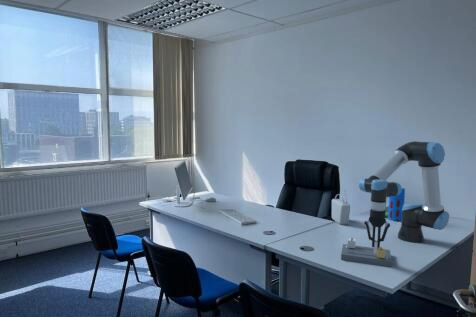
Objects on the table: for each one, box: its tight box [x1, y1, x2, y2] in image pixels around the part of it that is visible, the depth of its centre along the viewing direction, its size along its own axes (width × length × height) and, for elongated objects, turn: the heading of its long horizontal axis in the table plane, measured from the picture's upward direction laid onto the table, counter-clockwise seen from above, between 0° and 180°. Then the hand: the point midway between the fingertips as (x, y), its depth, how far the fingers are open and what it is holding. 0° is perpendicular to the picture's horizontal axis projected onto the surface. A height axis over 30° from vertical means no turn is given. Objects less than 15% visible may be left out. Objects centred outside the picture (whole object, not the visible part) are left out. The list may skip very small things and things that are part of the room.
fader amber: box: [377, 246, 387, 258], centre depth 184 cm, size 4×5×4 cm
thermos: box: [387, 187, 406, 222], centre depth 274 cm, size 11×11×25 cm
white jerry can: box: [331, 189, 351, 226], centre depth 264 cm, size 22×8×25 cm, turn 4°
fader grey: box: [347, 237, 357, 248], centre depth 198 cm, size 4×5×4 cm
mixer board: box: [340, 243, 393, 268], centre depth 191 cm, size 25×18×3 cm
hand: (375, 253), depth 185 cm, fingers closed
